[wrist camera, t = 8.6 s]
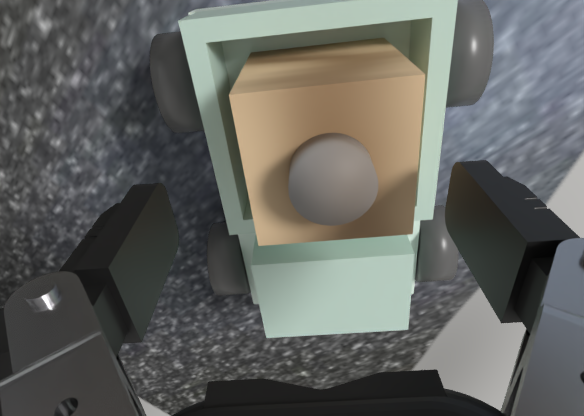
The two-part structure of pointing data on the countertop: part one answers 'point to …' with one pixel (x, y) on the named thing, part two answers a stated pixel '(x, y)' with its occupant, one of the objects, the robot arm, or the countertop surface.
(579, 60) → the countertop surface
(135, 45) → the countertop surface
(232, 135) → the chassis
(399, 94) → the wooden block with knob
